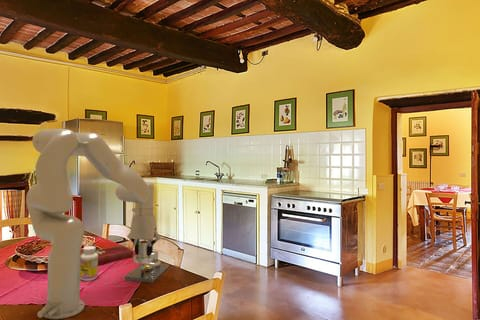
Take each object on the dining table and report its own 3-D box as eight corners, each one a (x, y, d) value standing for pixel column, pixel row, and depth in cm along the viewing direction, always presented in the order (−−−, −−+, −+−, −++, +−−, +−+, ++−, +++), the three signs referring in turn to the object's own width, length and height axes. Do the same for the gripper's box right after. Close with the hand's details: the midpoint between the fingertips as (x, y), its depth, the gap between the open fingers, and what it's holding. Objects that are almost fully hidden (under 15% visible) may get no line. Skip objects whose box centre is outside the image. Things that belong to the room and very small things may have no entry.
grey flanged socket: (148, 264, 138) (148, 245, 137) (130, 262, 139) (131, 243, 139) (155, 258, 145) (155, 240, 145) (138, 257, 146) (139, 238, 146)
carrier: (152, 282, 137) (152, 264, 137) (124, 280, 139) (125, 262, 139) (168, 267, 156) (169, 251, 156) (143, 265, 158) (144, 249, 157)
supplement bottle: (76, 279, 138) (77, 248, 138) (90, 274, 144) (90, 244, 144) (87, 282, 135) (88, 250, 135) (100, 277, 141) (101, 247, 140)
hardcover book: (133, 258, 169) (134, 249, 169) (91, 267, 153) (91, 258, 153) (122, 252, 177) (122, 244, 177) (81, 260, 162) (81, 252, 162)
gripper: (121, 212, 139) (120, 255, 139) (160, 214, 136) (159, 258, 137) (129, 208, 146) (128, 250, 147) (166, 211, 144) (165, 253, 144)
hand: (143, 254), depth 142 cm, fingers closed on grey flanged socket, 4 cm apart
